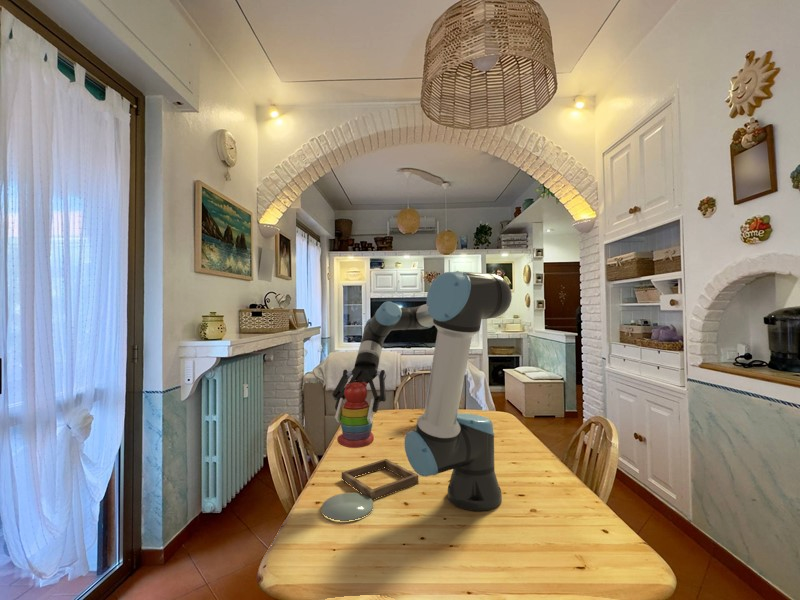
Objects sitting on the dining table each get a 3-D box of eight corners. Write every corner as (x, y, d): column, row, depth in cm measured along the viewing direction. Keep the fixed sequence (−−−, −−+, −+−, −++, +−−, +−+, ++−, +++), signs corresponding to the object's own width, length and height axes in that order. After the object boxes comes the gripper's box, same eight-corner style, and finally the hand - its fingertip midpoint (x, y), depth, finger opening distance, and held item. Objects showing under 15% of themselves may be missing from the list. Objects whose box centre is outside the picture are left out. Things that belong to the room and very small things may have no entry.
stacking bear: (370, 434, 120) (369, 377, 120) (379, 445, 110) (377, 383, 111) (336, 439, 116) (334, 380, 117) (341, 451, 107) (340, 387, 107)
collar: (418, 483, 119) (418, 475, 119) (371, 501, 108) (371, 492, 109) (386, 466, 133) (385, 458, 133) (341, 480, 122) (341, 472, 122)
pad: (383, 510, 103) (383, 506, 103) (337, 529, 95) (336, 524, 95) (356, 491, 114) (356, 488, 114) (312, 506, 106) (312, 503, 106)
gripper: (402, 364, 126) (392, 428, 110) (340, 364, 131) (322, 425, 115) (398, 350, 121) (387, 415, 105) (334, 351, 126) (313, 412, 110)
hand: (353, 420), depth 110 cm, fingers closed on stacking bear, 9 cm apart
